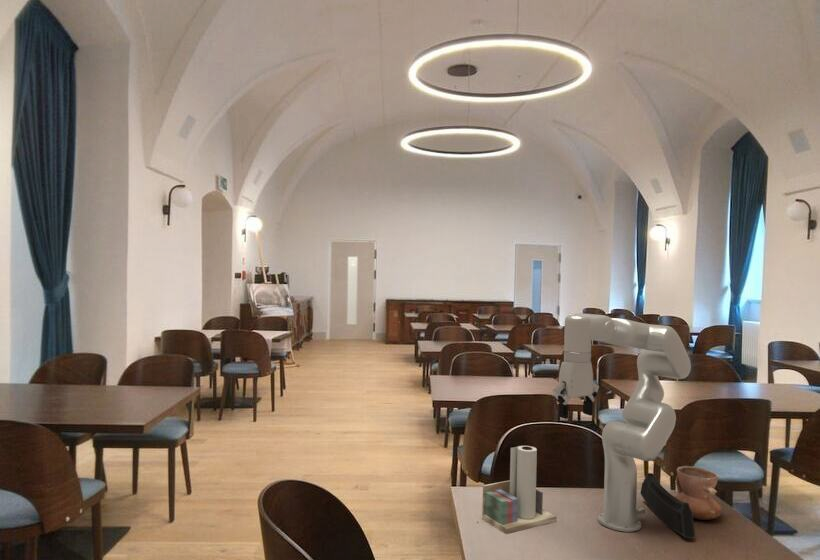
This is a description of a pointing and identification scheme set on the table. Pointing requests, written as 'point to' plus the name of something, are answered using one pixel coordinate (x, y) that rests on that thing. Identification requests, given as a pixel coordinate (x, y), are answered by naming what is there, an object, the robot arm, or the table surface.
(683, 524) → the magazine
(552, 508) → the table surface
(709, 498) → the ceramic jug
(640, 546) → the table surface
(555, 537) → the table surface
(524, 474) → the paper towel roll
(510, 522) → the book rack
